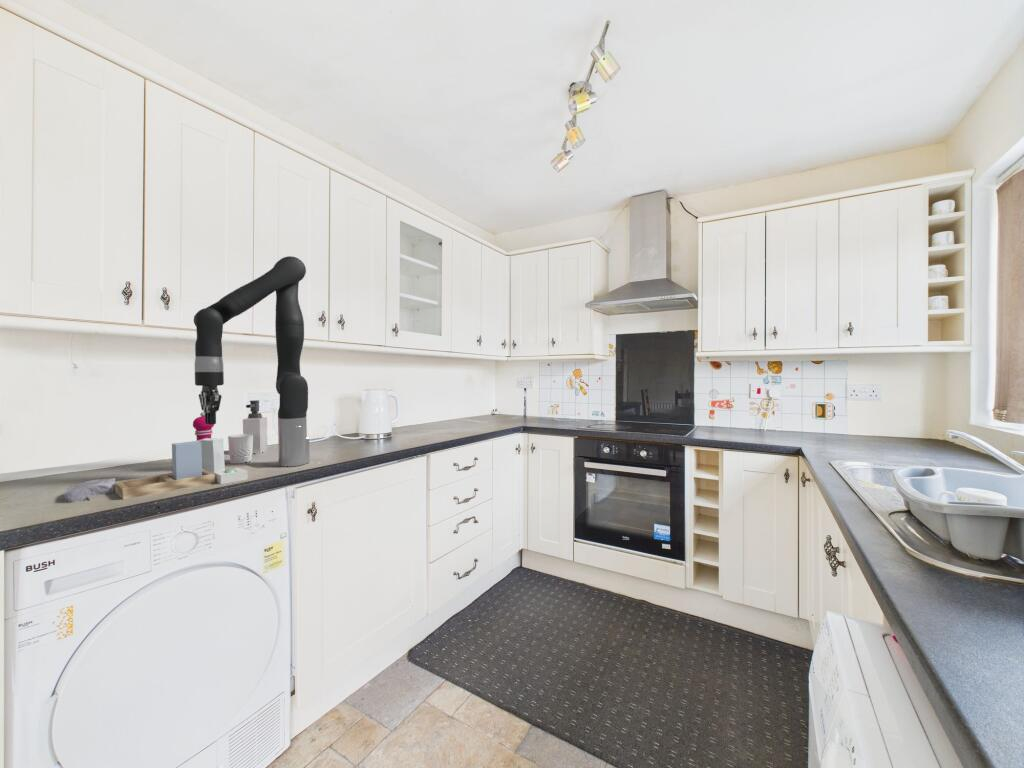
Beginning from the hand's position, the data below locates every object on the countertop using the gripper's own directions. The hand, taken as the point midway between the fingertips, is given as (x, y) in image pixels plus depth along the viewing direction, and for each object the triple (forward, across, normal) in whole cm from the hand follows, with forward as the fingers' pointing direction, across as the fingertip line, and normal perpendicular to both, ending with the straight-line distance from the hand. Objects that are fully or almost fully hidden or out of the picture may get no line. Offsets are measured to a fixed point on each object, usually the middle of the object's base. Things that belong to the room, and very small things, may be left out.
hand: (210, 423), depth 132 cm
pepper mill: (+17, +14, -2) cm, 22 cm away
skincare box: (+17, 0, 0) cm, 17 cm away
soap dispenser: (+17, +31, -24) cm, 43 cm away
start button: (+15, -15, 0) cm, 21 cm away
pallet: (+17, -10, +14) cm, 24 cm away
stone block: (+18, +1, +27) cm, 33 cm away
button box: (+17, -15, 0) cm, 23 cm away
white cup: (+17, +16, -14) cm, 27 cm away
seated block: (+16, -10, +9) cm, 21 cm away
